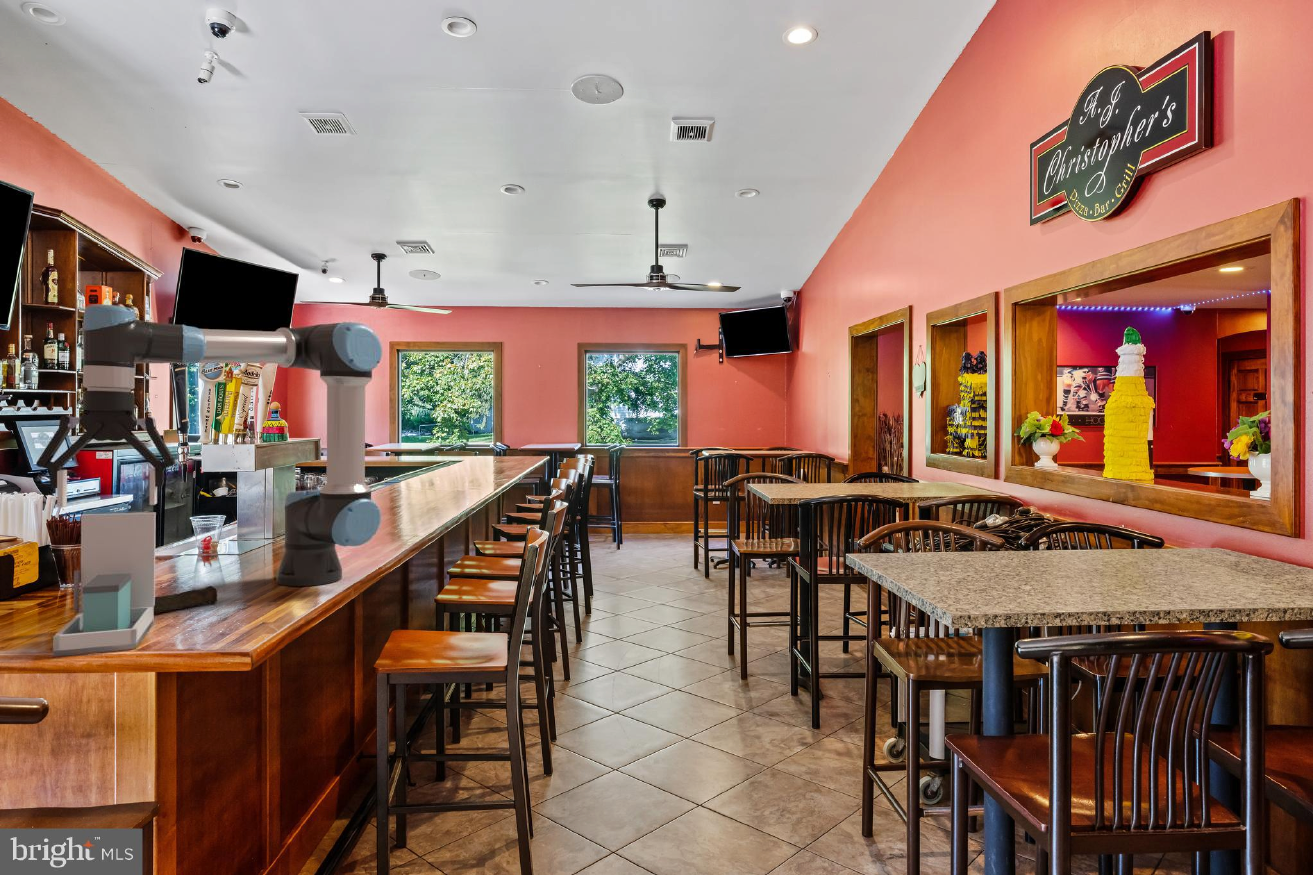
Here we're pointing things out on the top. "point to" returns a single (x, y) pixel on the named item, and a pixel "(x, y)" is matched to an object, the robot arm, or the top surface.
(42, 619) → the top surface
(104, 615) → the block
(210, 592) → the hand tool
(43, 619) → the top surface
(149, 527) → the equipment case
